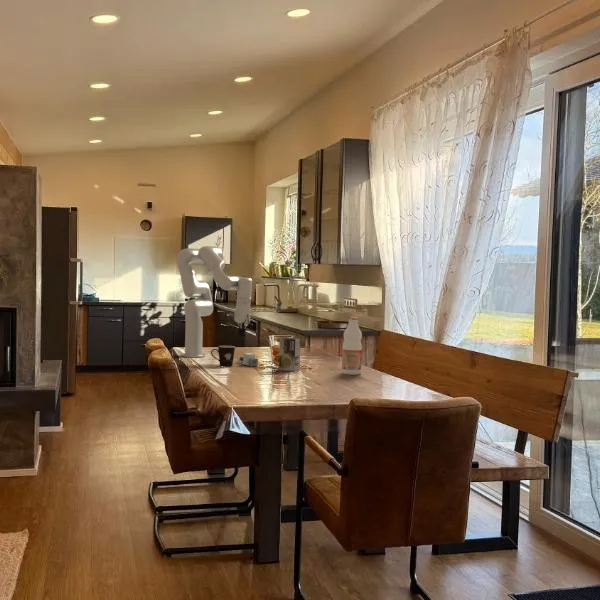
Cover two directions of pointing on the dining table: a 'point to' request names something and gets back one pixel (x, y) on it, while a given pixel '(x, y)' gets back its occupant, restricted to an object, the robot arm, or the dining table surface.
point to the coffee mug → (225, 355)
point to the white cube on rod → (247, 357)
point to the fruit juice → (352, 348)
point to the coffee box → (289, 354)
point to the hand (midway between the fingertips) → (241, 335)
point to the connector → (253, 362)
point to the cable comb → (238, 360)
